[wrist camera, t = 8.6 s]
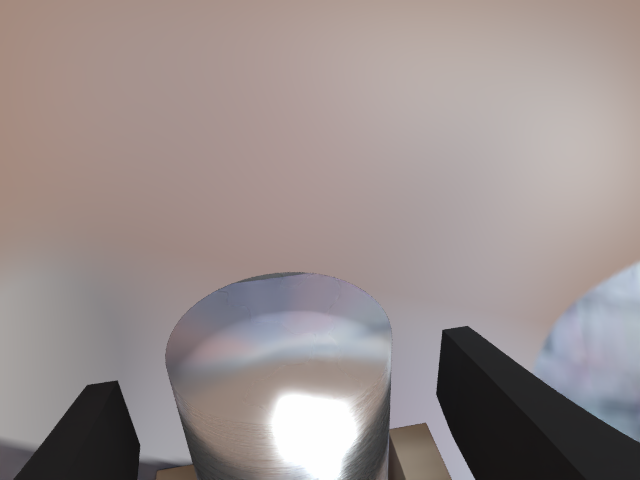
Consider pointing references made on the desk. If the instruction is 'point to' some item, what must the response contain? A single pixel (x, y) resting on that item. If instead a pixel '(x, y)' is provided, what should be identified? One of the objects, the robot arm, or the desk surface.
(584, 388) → the desk surface
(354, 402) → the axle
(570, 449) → the robot arm
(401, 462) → the wooden bracket frame
